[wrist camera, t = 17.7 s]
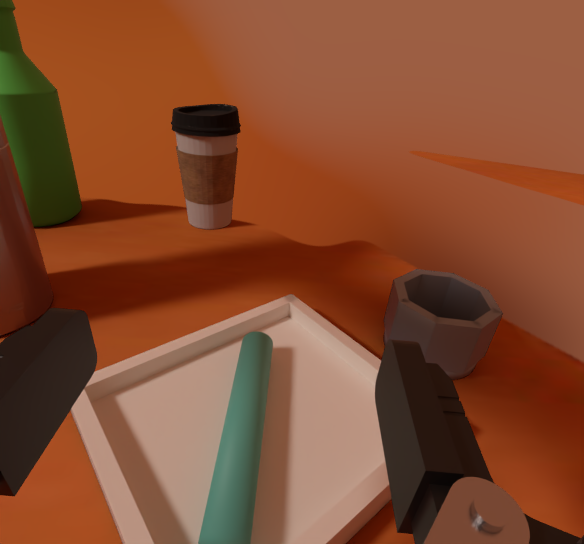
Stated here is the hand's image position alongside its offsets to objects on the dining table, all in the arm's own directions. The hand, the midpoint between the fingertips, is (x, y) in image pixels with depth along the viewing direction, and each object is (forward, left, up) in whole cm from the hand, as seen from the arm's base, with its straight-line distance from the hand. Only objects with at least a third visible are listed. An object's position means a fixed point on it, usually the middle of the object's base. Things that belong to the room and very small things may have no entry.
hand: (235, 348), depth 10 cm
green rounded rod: (-12, +9, -13) cm, 20 cm away
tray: (-7, +6, -15) cm, 18 cm away
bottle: (-51, +2, -15) cm, 53 cm away
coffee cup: (-39, +20, -15) cm, 46 cm away
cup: (-5, +23, -15) cm, 28 cm away
